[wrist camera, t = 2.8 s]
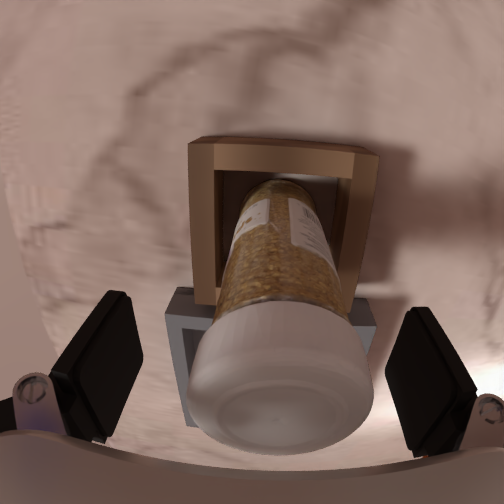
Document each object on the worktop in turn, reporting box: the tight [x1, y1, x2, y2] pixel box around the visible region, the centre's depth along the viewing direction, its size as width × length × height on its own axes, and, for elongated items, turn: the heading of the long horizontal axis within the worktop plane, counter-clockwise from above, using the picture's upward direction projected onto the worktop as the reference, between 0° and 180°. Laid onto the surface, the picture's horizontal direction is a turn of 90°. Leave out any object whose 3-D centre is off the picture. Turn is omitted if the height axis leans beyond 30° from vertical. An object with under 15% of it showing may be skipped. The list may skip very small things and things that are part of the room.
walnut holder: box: [188, 137, 380, 313], centre depth 17 cm, size 9×9×3 cm
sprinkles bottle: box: [186, 179, 374, 456], centre depth 12 cm, size 5×5×13 cm
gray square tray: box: [165, 287, 377, 428], centre depth 23 cm, size 13×13×3 cm
